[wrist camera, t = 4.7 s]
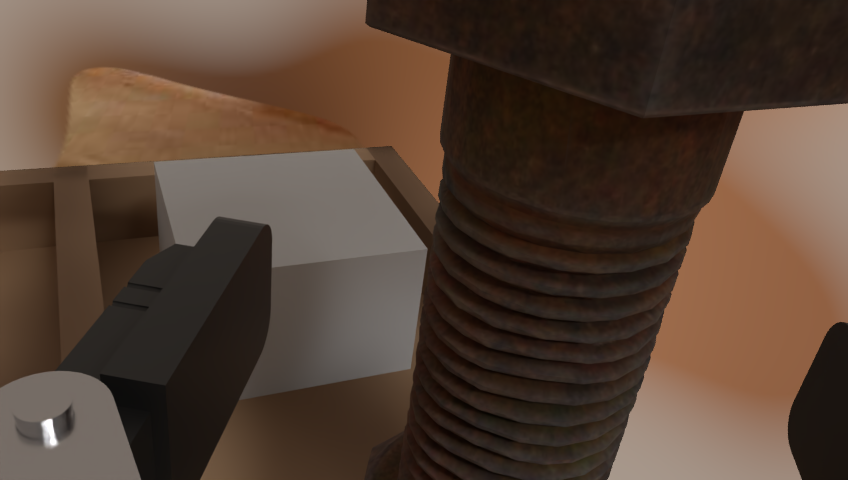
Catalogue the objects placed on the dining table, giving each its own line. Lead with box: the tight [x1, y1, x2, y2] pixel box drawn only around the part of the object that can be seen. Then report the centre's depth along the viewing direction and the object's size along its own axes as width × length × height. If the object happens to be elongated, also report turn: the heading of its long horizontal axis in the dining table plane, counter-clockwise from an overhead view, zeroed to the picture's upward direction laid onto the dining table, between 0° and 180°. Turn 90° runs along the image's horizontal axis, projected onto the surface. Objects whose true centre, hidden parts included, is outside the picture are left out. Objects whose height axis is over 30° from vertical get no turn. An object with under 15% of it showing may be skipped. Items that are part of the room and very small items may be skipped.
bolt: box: [364, 0, 848, 480], centre depth 12 cm, size 6×5×15 cm
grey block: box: [154, 149, 427, 400], centre depth 22 cm, size 6×6×4 cm
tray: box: [0, 146, 439, 480], centre depth 21 cm, size 22×14×4 cm, turn 112°
